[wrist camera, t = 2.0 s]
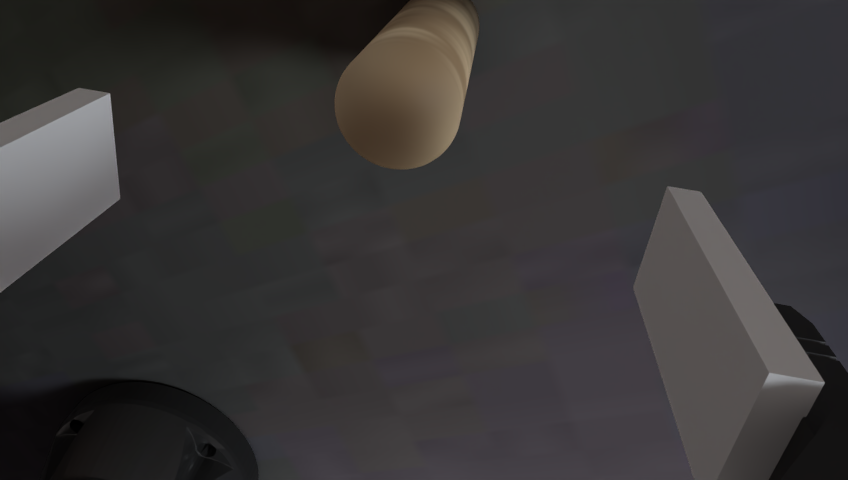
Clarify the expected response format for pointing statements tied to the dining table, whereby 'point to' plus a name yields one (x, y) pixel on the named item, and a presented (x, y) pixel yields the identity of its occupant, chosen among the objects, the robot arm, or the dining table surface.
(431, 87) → the dowel
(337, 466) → the dining table surface
